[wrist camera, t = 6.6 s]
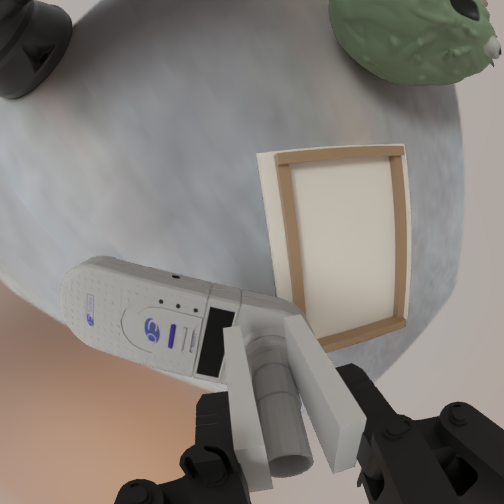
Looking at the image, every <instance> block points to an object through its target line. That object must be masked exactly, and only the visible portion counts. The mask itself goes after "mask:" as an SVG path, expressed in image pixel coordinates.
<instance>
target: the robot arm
mask: <svg viewBox="0 0 504 504" xmlns="http://www.w3.org/2000/svg"><path fill="white" fill-rule="evenodd" d="M71 34H72V21H71V18H70V17H69V15H68V14H67V13H66V12H65V11H64V10H63V9H62V8H60V7H59V6H56V5H49V4H47V3H44V2H40V1H37V0H0V97H4V98H7V99H15V98H19V97H21V96H23V95H25V94H27V93H29V92H30V91H32V90H33V89H34V88H36V87H37V86H38V85H39V84H40V83H41V82H42V81H43V80H44V79H45V78H46V77H47V76H48V75H49V74H50V73H51V72H52V70H53V69H54V68H55V66H56V65H57V64H58V62H59V61H60V59H61V57H62V56H63V54H64V52H65V50H66V48H67V46H68V44H69V41H70V38H71ZM284 322H285V333H286V345H287V357H288V364H289V367H290V371H291V372H292V375H293V378H294V380H295V383H296V386H297V388H298V391H299V393H300V396H301V398H302V401H303V403H304V405H305V408H306V410H307V413H308V415H309V418H310V420H311V422H312V425H313V427H314V430H315V432H316V435H317V437H318V439H319V442H320V444H321V447H322V449H323V451H324V454H325V456H326V458H327V461H328V463H329V466H330V468H331V470H332V473H333V474H334V473H337V472H340V471H343V470H346V469H349V468H352V467H355V464H356V461H357V460H358V462H359V464H360V465H361V468H362V469H361V472H360V475H359V478H358V481H357V487H360V486H361V484H362V483H363V486H364V489H365V492H366V495H367V498H368V501H369V504H504V430H503V429H502V428H500V427H499V426H498V425H496V424H495V423H494V422H492V421H491V420H490V419H489V418H487V417H486V416H484V415H483V414H482V413H481V412H479V411H478V410H477V409H475V408H474V407H473V406H471V405H469V404H467V403H464V402H454V403H450V404H448V405H447V406H445V407H444V409H443V410H442V411H441V413H440V416H437V417H432V418H428V419H422V420H412V419H411V418H409V417H407V416H405V415H399V414H397V413H396V412H395V411H394V410H393V409H392V407H391V406H390V405H389V403H388V402H387V401H386V399H385V398H384V397H383V395H382V394H381V393H380V391H379V390H378V389H377V387H375V385H374V384H373V382H372V381H371V380H370V379H369V377H368V376H367V374H366V373H365V372H364V370H363V369H361V368H359V367H358V366H356V365H354V364H352V363H351V364H348V365H344V366H341V367H337V368H335V367H334V366H333V364H332V362H331V361H330V359H329V358H328V356H327V355H326V353H325V352H324V350H323V348H322V347H321V345H320V344H319V342H318V341H317V339H316V337H315V336H314V334H313V333H312V331H311V330H310V328H309V327H308V325H307V323H306V322H305V320H304V319H303V317H302V316H301V314H300V315H295V316H290V317H284ZM223 334H224V348H225V361H226V373H227V385H228V391H225V392H218V393H210V394H203V395H202V396H201V398H200V400H199V401H198V403H197V405H196V433H195V434H196V435H195V445H193V446H191V447H190V448H188V449H187V450H186V451H185V452H184V453H183V455H182V456H181V458H180V467H181V468H182V470H183V471H184V473H185V474H186V475H185V476H183V477H182V478H179V479H177V480H174V481H170V482H167V483H163V484H159V485H157V484H155V483H154V482H152V481H149V480H146V479H136V480H132V481H129V482H128V483H126V484H125V485H123V486H122V487H121V489H120V491H119V492H118V495H117V498H116V500H115V503H114V504H251V501H250V496H249V492H255V491H261V490H267V489H273V485H272V480H271V475H270V470H269V464H268V459H267V454H266V449H265V444H264V440H263V435H262V430H261V426H260V421H259V416H258V412H257V407H256V402H255V397H254V392H253V387H252V383H251V378H250V373H249V368H248V362H247V357H246V352H245V347H244V342H243V337H242V331H241V326H233V327H227V328H223Z"/></svg>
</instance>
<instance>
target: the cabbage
mask: <svg viewBox="0 0 504 504" xmlns="http://www.w3.org/2000/svg"><path fill="white" fill-rule="evenodd" d="M487 5H488V3H487V1H486V0H329V17H330V21H331V25H332V28H333V31H334V34H335V36H336V38H337V40H338V42H339V43H340V45H341V46H342V47H343V49H344V50H345V51H346V52H347V53H348V54H349V55H350V56H351V57H352V58H353V59H354V60H355V61H356V62H357V63H358V64H360V65H361V66H362V67H364V68H365V69H366V70H368V71H370V72H371V73H373V74H375V75H376V76H378V77H379V78H381V79H384V80H387V81H389V82H390V83H393V84H397V85H401V84H403V85H410V86H425V85H447V84H453V83H457V82H460V81H461V80H463V79H464V78H466V77H468V76H471V75H474V74H476V73H480V72H481V71H482V70H483V69H484V68H486V67H487V66H488V65H489V63H490V64H491V65H492V66H493V67H494V63H493V61H492V58H493V59H498V58H499V56H500V55H501V45H500V43H499V41H498V40H497V39H496V38H497V36H496V35H495V31H494V28H493V27H492V25H491V24H490V23H489V17H490V14H489V12H488V11H487V9H486V7H487Z"/></svg>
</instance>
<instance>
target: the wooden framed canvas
mask: <svg viewBox="0 0 504 504" xmlns="http://www.w3.org/2000/svg"><path fill="white" fill-rule="evenodd" d="M256 158H257V164H258V170H259V177H260V183H261V190H262V196H263V203H264V210H265V216H266V223H267V230H268V237H269V244H270V251H271V258H272V265H273V273H274V280H275V287H276V295H277V297H279V298H282V299H284V300H287V301H289V302H292V303H294V304H295V305H296V306H297V307H298V308H299V309H300V310H302V311H303V312H304V314H305V316H306V318H307V320H308V322H309V324H310V326H311V328H312V330H313V332H314V335H315V337H316V339H317V341H318V342H319V344H320V345H321V347H322V348H323V350H324V352H325V353H327V352H330V351H334V350H337V349H340V348H344V347H347V346H350V345H353V344H357V343H360V342H363V341H366V340H369V339H372V338H375V337H378V336H381V335H384V334H386V333H389V332H392V331H395V330H397V329H400V328H403V327H405V326H406V320H407V317H408V307H409V295H410V279H411V207H410V191H409V179H408V169H407V160H406V152H405V145H404V144H361V145H340V146H324V147H312V148H300V149H290V150H281V151H272V152H264V153H257V154H256Z"/></svg>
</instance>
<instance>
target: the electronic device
mask: <svg viewBox="0 0 504 504" xmlns="http://www.w3.org/2000/svg"><path fill="white" fill-rule="evenodd" d="M60 305H61V310H62V314H63V317H64V319H65V321H66V323H67V325H68V326H69V328H70V329H71V330H72V332H73V333H74V334H75V335H76V336H77V337H78V338H79V339H80V340H82V341H83V342H84V343H85V344H87V345H88V346H90V347H92V348H95V349H98V350H100V351H103V352H106V353H109V354H112V355H115V356H118V357H121V358H124V359H127V360H130V361H133V362H136V363H140V364H143V365H146V366H150V367H153V368H157V369H161V370H164V371H168V372H172V373H176V374H180V375H184V376H188V377H192V376H193V378H197V379H201V380H206V381H211V382H216V383H220V382H221V384H226V385H227V373H226V361H225V348H224V334H223V328H227V327H233V326H241V331H242V337H243V342H244V347H245V352H246V357H247V362H248V368H249V373H250V378H251V383H252V387H253V392H254V397H255V402H256V407H257V412H258V416H259V421H260V426H261V430H262V435H263V440H264V444H265V449H266V454H267V459H268V464H269V470H270V475H271V476H272V477H278V478H280V477H281V478H285V477H291V476H295V475H298V474H301V473H303V472H305V471H307V470H308V469H309V468H310V467H311V466H312V465H313V457H312V453H311V450H310V446H309V442H308V438H307V434H306V430H305V427H304V423H303V420H302V415H301V411H300V409H301V405H302V404H301V400H300V396H299V392H298V388H297V386H296V383H295V380H294V378H293V375H292V372H291V371H290V367H289V364H288V357H287V345H286V333H285V322H284V317H290V316H295V315H300V314H301V316H302V317H303V319H304V320H305V322H306V323H307V325H308V327H309V328H310V330H311V331H312V333H313V334H314V332H313V330H312V328H311V326H310V324H309V322H308V320H307V318H306V316H305V314H304V312H303V311H302V310H300V309H299V308H298V307H297V306H296V305H295V304H294V303H292V302H289V301H287V300H284V299H282V298H279V297H274V296H270V295H265V294H260V293H256V292H251V291H247V290H240V289H238V288H233V287H229V286H225V285H220V284H216V283H213V284H212V282H208V281H203V280H199V279H195V278H191V277H187V276H183V275H179V274H175V273H171V272H167V271H163V270H159V269H155V268H151V267H145V266H142V265H138V264H134V263H130V262H127V261H123V260H119V259H116V258H114V257H110V256H96V257H92V258H90V259H88V260H87V261H85V262H83V263H81V264H79V265H78V266H76V267H74V268H73V269H71V270H70V271H69V272H68V273H67V274H66V276H65V277H64V279H63V282H62V285H61V289H60ZM314 336H315V335H314Z"/></svg>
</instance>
